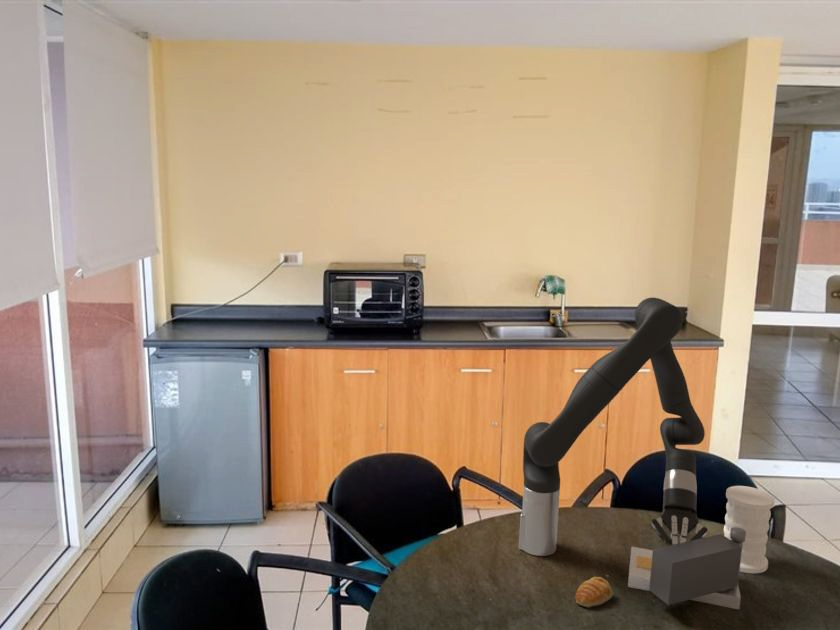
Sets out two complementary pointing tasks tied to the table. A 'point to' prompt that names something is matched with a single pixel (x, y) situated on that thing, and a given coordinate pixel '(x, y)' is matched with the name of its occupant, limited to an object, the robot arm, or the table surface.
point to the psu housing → (726, 598)
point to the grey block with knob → (696, 567)
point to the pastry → (593, 592)
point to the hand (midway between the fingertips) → (677, 564)
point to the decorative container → (750, 524)
